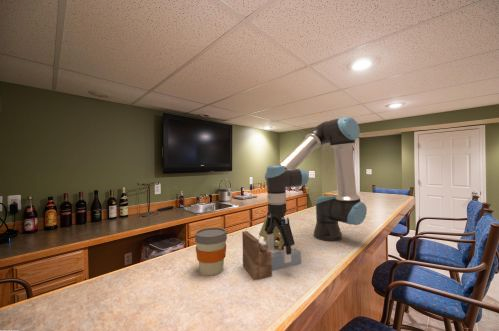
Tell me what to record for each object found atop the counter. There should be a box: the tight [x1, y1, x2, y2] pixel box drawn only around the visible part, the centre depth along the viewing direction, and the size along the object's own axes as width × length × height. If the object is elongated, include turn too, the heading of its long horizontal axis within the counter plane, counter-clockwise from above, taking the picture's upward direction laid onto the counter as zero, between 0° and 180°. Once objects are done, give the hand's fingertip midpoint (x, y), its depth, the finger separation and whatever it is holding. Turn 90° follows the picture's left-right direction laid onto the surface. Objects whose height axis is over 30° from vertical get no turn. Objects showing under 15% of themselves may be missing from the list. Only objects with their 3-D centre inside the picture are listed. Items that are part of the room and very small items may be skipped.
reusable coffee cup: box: [194, 227, 228, 277], centre depth 83 cm, size 13×13×15 cm
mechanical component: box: [257, 216, 284, 251], centre depth 106 cm, size 8×17×20 cm, turn 79°
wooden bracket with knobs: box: [241, 230, 273, 281], centre depth 82 cm, size 7×12×14 cm, turn 22°
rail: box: [271, 248, 302, 271], centre depth 85 cm, size 20×4×5 cm, turn 112°
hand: (278, 255), depth 86 cm, fingers open, 13 cm apart
